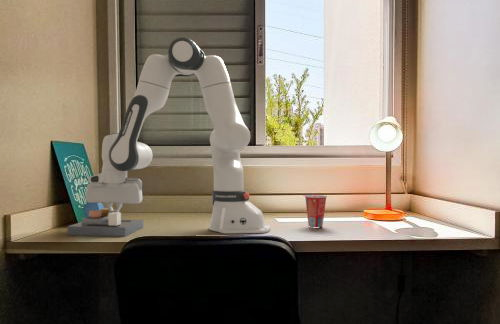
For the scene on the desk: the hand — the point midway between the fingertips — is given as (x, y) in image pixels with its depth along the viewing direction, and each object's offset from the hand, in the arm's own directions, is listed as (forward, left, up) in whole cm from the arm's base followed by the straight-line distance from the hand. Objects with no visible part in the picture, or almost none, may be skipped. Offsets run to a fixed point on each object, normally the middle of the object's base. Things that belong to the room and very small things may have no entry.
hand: (114, 215), depth 134 cm
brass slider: (+3, 0, -2) cm, 4 cm away
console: (0, +4, -5) cm, 7 cm away
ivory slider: (-5, +9, -2) cm, 11 cm away
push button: (+4, +6, 0) cm, 7 cm away
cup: (-74, -11, -5) cm, 75 cm away
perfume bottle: (+13, -10, -5) cm, 18 cm away
